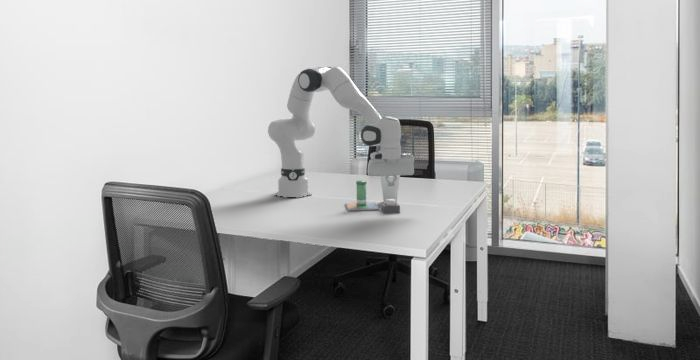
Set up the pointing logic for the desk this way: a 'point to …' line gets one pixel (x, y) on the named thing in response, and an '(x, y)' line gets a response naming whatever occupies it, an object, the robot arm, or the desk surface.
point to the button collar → (390, 208)
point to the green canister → (361, 193)
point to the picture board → (361, 207)
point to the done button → (390, 202)
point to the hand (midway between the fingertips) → (390, 185)
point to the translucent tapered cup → (389, 188)
